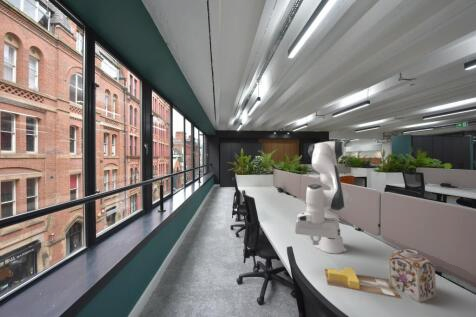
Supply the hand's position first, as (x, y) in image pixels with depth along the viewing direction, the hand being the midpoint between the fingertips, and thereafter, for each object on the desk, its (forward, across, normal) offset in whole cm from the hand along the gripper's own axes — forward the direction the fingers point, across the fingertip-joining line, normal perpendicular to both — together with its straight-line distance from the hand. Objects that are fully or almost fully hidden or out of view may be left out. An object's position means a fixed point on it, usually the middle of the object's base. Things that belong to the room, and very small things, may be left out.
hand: (315, 244), depth 97 cm
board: (+16, -19, 0) cm, 25 cm away
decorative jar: (+17, -40, -2) cm, 43 cm away
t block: (+15, -12, 0) cm, 19 cm away
